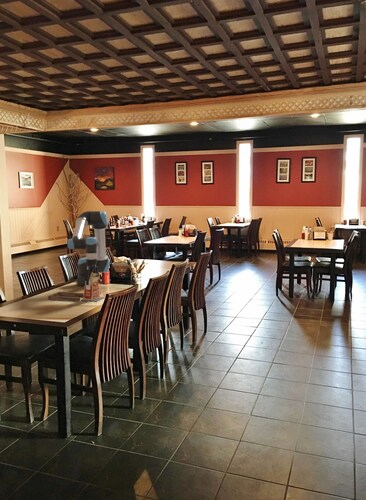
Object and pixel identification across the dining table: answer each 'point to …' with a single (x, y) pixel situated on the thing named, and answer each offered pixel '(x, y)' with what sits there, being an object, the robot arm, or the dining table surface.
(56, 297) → the brown wooden tray
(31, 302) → the dining table surface
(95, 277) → the milk carton
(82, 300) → the mat
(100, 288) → the latch block
